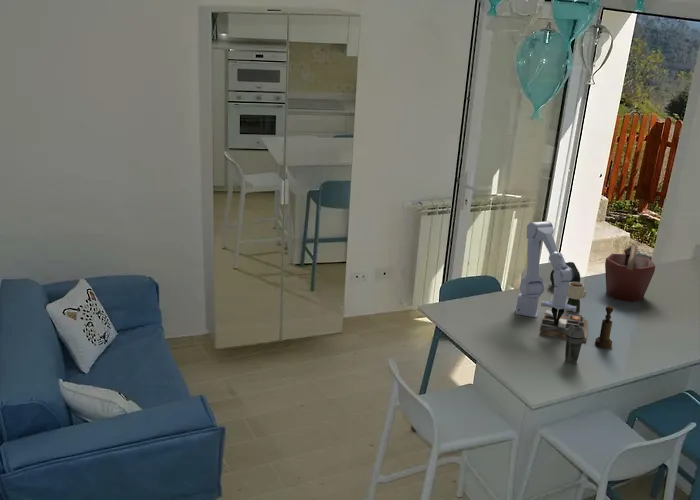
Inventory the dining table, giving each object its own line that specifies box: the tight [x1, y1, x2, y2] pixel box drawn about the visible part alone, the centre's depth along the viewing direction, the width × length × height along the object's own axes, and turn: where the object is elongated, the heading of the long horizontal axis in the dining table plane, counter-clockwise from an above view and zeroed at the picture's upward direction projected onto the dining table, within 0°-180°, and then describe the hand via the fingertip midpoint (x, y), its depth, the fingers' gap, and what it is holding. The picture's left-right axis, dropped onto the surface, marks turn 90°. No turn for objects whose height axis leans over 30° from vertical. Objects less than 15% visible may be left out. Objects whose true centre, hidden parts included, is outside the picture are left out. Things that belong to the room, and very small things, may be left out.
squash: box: [549, 261, 581, 288], centre depth 350 cm, size 14×15×15 cm
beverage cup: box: [564, 314, 585, 365], centre depth 272 cm, size 7×7×20 cm
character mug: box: [566, 282, 587, 312], centre depth 323 cm, size 11×7×13 cm, turn 38°
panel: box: [539, 312, 589, 343], centre depth 303 cm, size 19×20×4 cm
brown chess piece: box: [594, 304, 614, 350], centre depth 287 cm, size 7×6×18 cm
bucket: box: [604, 245, 656, 303], centre depth 341 cm, size 24×22×25 cm
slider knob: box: [558, 319, 567, 328], centre depth 298 cm, size 3×5×4 cm, turn 160°
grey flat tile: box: [544, 309, 553, 317], centre depth 311 cm, size 5×4×1 cm
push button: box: [571, 315, 581, 322], centre depth 307 cm, size 4×4×2 cm
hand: (555, 323), depth 299 cm, fingers closed
